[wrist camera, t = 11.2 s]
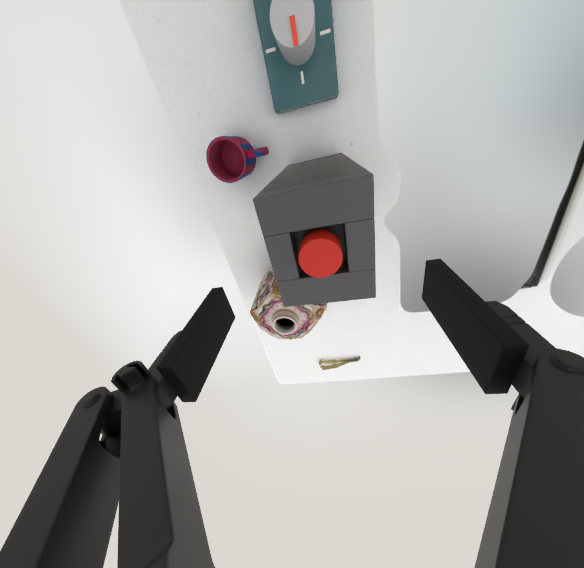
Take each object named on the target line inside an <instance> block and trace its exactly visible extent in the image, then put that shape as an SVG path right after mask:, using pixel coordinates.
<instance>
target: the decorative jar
mask: <svg viewBox="0 0 584 568" xmlns="http://www.w3.org/2000/svg"><path fill="white" fill-rule="evenodd" d="M326 308H327V303H319V304H309V305H300V306H291V307H284V306H283V302H282V299H281V295H280V292H279V289H278V285H277V281H276V278H275V275H274V271H273V268H272V267H271V268H270V270H269V271H268V272H267V274H266V275H265V276H264V278H263V279H262V281H261V284H260V286H259V289H258V292H257V294H256V297H255V300H254V303H253V305H252V308H251V311H250V314H251V315H252V317H253V318H254V320H255V321H256V322H257V324H258V325H259V327H260V328H261V329H262V330H264V331H265V332H267V333H268V334H270V335H272V336H274V337H276V338H278V339H296V338H302V337H303V336H305V335H306V334H307V333H308V332H310V331H311V330H312V328H313V327H314V326H315V325H316V323H317V322H318V320H319V319H320V318H321V316H322V314H323V312H324V311H325V310H326Z"/></svg>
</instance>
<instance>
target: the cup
mask: <svg viewBox="0 0 584 568" xmlns="http://www.w3.org/2000/svg"><path fill="white" fill-rule="evenodd" d="M268 153H269V150H268V148H267V147H264V148H259V149H255V150H254V149H253V147H252V146H251V144H250V143H249V142H248V141H247V140H245V139H243V138H241V137H227V136H222V137H218V138H215V139H214V140H213V141H212V142H211V143H210V144H209V146H208V149H207V163H208V166H209V168H210V170H211V172H212V173H213V174H214V176H216V177H217V178H218V179H219V180H221V181H223V182H227V183H232V182H236V181H238V180H240V179H242V178H244V177H245V176H247V175H249V174H250V173H251V172H252V171H253V169H254V167H255V163H256V157H259V156H263V155H266V154H268Z"/></svg>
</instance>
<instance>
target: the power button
mask: <svg viewBox="0 0 584 568" xmlns="http://www.w3.org/2000/svg"><path fill="white" fill-rule="evenodd" d="M342 261H343V255H342V250H341V245H340V241H339V239H338V238H337V236H336V235H335V234H333V233H332V232H330V231H328V230H323V229H319V230H314V231H311V232H310V233H308V234H307V235H306V236H305V237H304V238H303V240H302V242H301V245H300V251H299V264H300V267H301V268H302V270H303V271H304V272H305V273H306V274H308V275H310V276H312V277H316V278H324V277H328V276H331V275H333V274H334V273H335V272H336V271H338V269H339V268H340V266H341V264H342Z"/></svg>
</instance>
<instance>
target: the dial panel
mask: <svg viewBox="0 0 584 568" xmlns="http://www.w3.org/2000/svg"><path fill="white" fill-rule="evenodd" d="M271 2H272V0H253V3H254V8H255V13H256V18H257V23H258V28H259V33H260V38H261V43H262V48H263V53H264V58H265V63H266V68H267V73H268V78H269V83H270V88H271V93H272V98H273V103H274V108H275V112H276V113H278V114H280V113H283V112H287V111H290V110H294V109H298V108H301V107H305V106H308V105H312V104H316V103H319V102H323V101H327V100H330V99H334V98H337V97H338V82H337V69H336V56H335V44H334V31H333V18H332V6H331V0H313V3H314V10H315V47H314V51H313V53H312V55H311V57H310V58H309V60H308V61H307V62H306V63H304V64H302V65H299V66H294V65H291V64H290V63H288V62H287V61H286V60H285V59H284V57H283V55H282V53H281V50H280V48H279V46H278V43H277V41H276V39H275V36H274V34H273V32H272V29H271V25H270V6H271Z"/></svg>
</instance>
